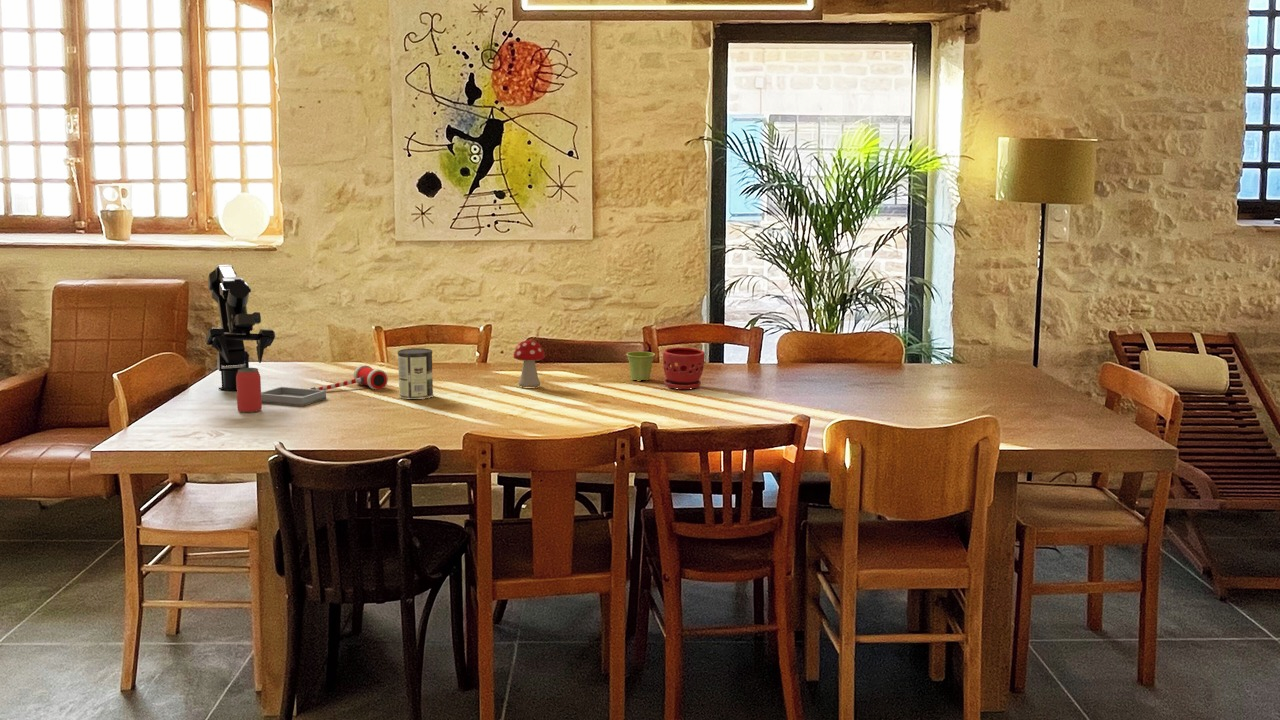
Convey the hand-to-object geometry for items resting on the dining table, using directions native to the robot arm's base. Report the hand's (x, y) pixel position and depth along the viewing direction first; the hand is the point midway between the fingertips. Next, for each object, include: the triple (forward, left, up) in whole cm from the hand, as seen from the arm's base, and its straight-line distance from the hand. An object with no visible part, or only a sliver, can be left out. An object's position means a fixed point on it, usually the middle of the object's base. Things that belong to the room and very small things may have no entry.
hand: (244, 362), depth 370 cm
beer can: (+6, -7, -13) cm, 16 cm away
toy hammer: (+15, +34, -13) cm, 39 cm away
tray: (+8, +10, -13) cm, 18 cm away
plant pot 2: (+109, +74, -13) cm, 133 cm away
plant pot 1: (+92, +81, -13) cm, 124 cm away
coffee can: (+39, +29, -13) cm, 51 cm away
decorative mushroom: (+64, +56, -13) cm, 86 cm away
